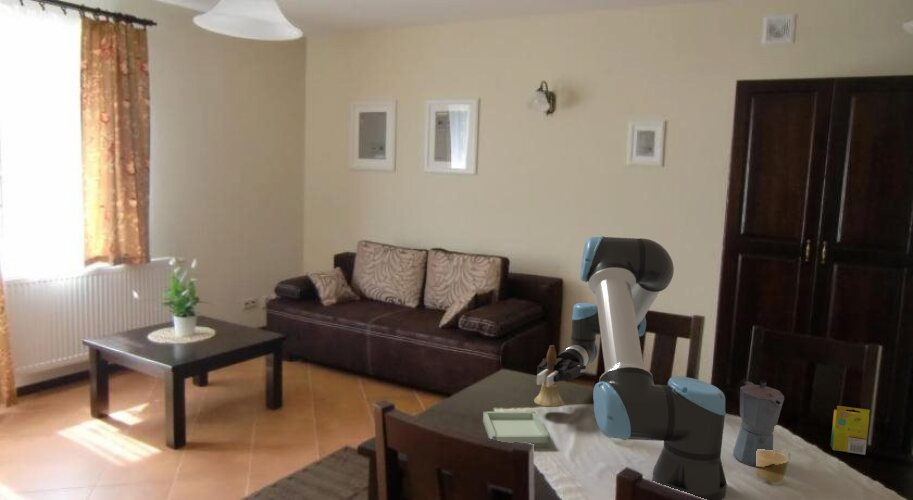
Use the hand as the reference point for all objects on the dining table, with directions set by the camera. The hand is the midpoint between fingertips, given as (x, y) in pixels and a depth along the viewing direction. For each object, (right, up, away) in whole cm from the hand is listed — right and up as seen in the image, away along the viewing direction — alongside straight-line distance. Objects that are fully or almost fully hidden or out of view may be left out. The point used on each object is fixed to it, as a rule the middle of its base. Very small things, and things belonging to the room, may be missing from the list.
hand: (542, 380), depth 172 cm
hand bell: (+2, -7, +6) cm, 10 cm away
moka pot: (+48, -16, -17) cm, 53 cm away
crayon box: (+75, -16, -10) cm, 78 cm away
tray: (-8, -12, -8) cm, 17 cm away
